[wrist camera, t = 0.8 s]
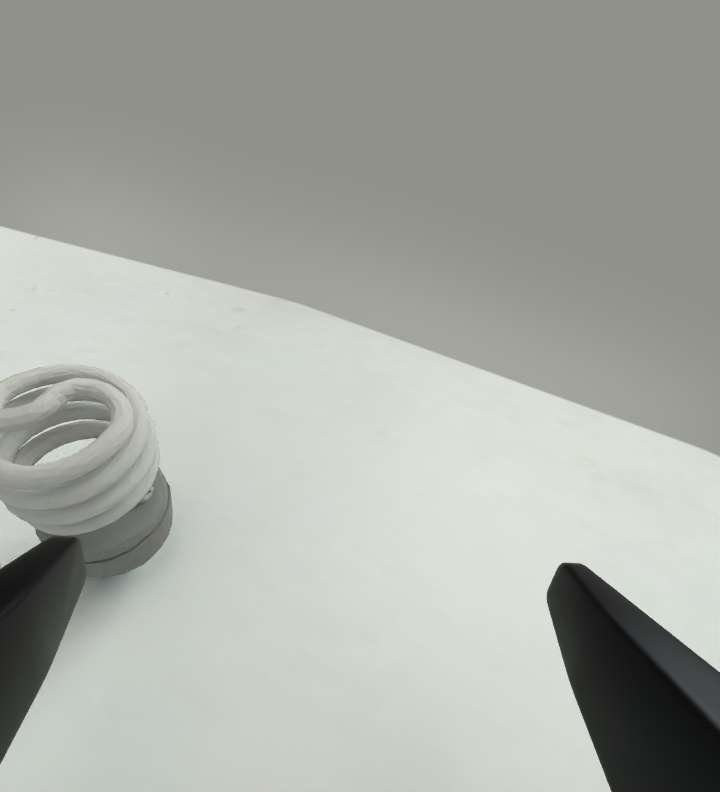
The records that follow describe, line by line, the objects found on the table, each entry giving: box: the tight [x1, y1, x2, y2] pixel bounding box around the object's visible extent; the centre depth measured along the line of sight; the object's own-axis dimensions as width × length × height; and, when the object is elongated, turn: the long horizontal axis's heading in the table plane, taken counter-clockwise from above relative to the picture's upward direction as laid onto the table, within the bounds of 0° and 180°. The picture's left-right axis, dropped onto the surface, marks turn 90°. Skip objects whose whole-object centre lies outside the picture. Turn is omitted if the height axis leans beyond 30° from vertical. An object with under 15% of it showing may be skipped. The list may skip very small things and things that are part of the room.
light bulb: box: [0, 365, 172, 578], centre depth 19 cm, size 6×6×12 cm
